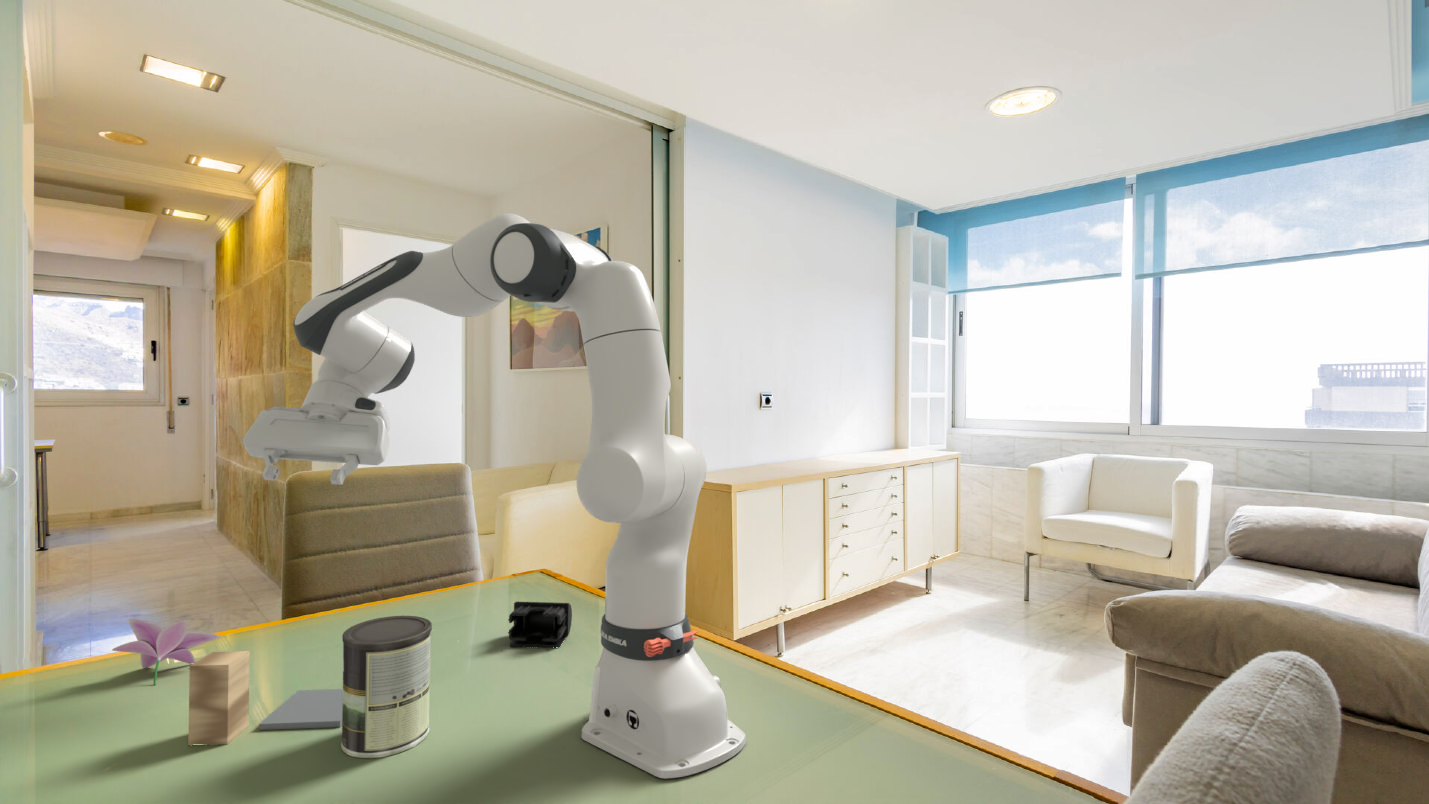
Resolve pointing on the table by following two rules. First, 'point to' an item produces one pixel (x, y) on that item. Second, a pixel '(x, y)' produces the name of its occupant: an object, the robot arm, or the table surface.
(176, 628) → the lily
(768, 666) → the table surface
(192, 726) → the oak block
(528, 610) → the end cap
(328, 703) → the slate coaster
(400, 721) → the coffee can
